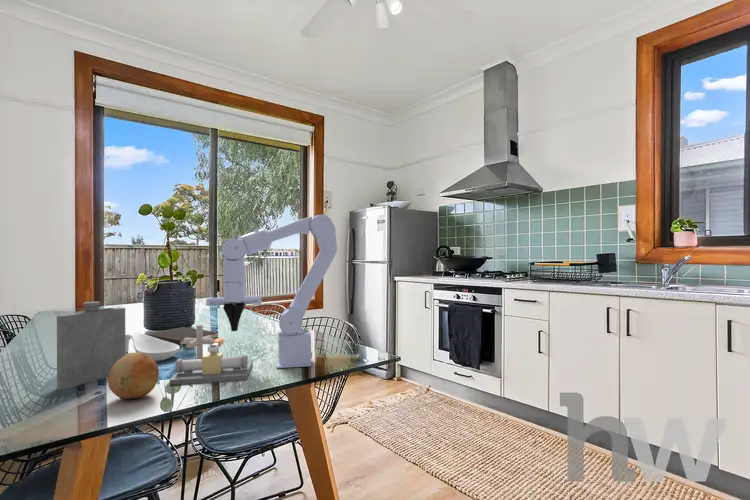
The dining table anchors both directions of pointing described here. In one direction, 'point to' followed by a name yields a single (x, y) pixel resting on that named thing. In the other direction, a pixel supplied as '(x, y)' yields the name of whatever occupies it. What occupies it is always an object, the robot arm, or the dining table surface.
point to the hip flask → (89, 344)
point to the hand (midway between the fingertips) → (234, 330)
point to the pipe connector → (198, 341)
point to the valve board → (211, 376)
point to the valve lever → (215, 345)
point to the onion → (133, 376)
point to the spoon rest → (151, 346)
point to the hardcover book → (179, 334)
